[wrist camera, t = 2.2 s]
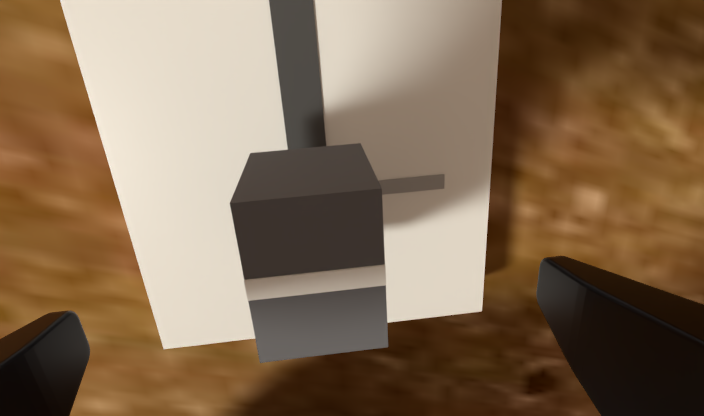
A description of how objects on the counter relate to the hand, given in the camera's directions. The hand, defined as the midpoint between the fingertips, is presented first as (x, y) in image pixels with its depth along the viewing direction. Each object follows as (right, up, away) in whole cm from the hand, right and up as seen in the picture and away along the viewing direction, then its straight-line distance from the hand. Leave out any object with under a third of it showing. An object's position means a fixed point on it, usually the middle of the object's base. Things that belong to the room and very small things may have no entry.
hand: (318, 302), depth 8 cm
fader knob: (-1, +2, +5) cm, 6 cm away
